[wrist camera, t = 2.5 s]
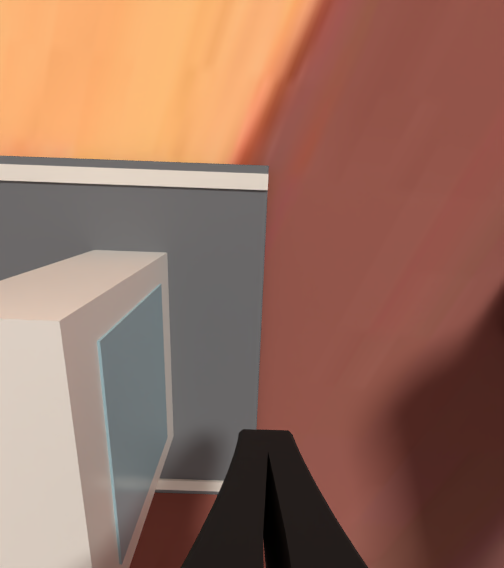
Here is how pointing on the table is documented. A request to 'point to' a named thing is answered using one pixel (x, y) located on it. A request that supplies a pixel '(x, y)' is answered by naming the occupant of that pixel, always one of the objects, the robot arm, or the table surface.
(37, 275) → the white rectangular block
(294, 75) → the table surface
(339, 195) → the table surface
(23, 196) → the mat
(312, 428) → the table surface
